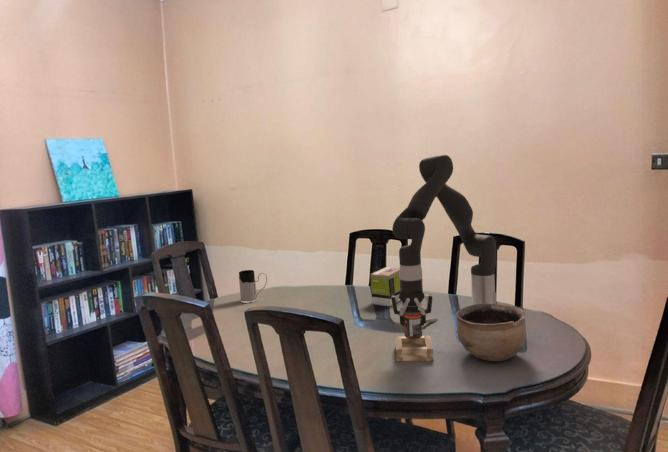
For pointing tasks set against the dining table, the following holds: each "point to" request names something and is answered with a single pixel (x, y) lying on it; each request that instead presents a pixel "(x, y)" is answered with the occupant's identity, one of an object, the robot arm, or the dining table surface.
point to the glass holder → (248, 285)
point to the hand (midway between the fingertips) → (412, 325)
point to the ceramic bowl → (491, 330)
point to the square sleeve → (414, 349)
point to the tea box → (385, 286)
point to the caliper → (431, 320)
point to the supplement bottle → (412, 322)
